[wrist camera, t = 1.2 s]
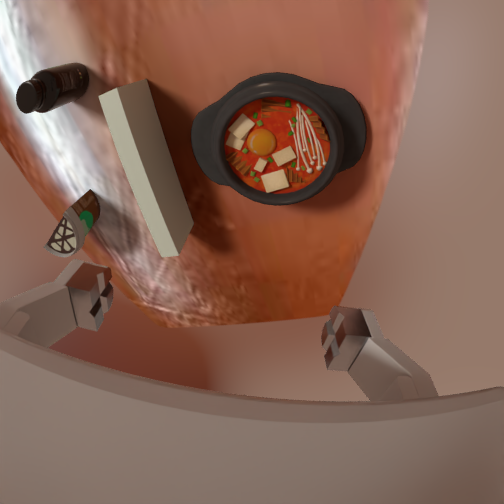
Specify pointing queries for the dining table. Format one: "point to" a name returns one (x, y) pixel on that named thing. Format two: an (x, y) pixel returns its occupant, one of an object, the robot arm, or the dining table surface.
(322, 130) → the casserole
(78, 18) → the dining table surface
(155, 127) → the board
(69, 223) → the food container
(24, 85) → the supplement bottle
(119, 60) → the dining table surface
